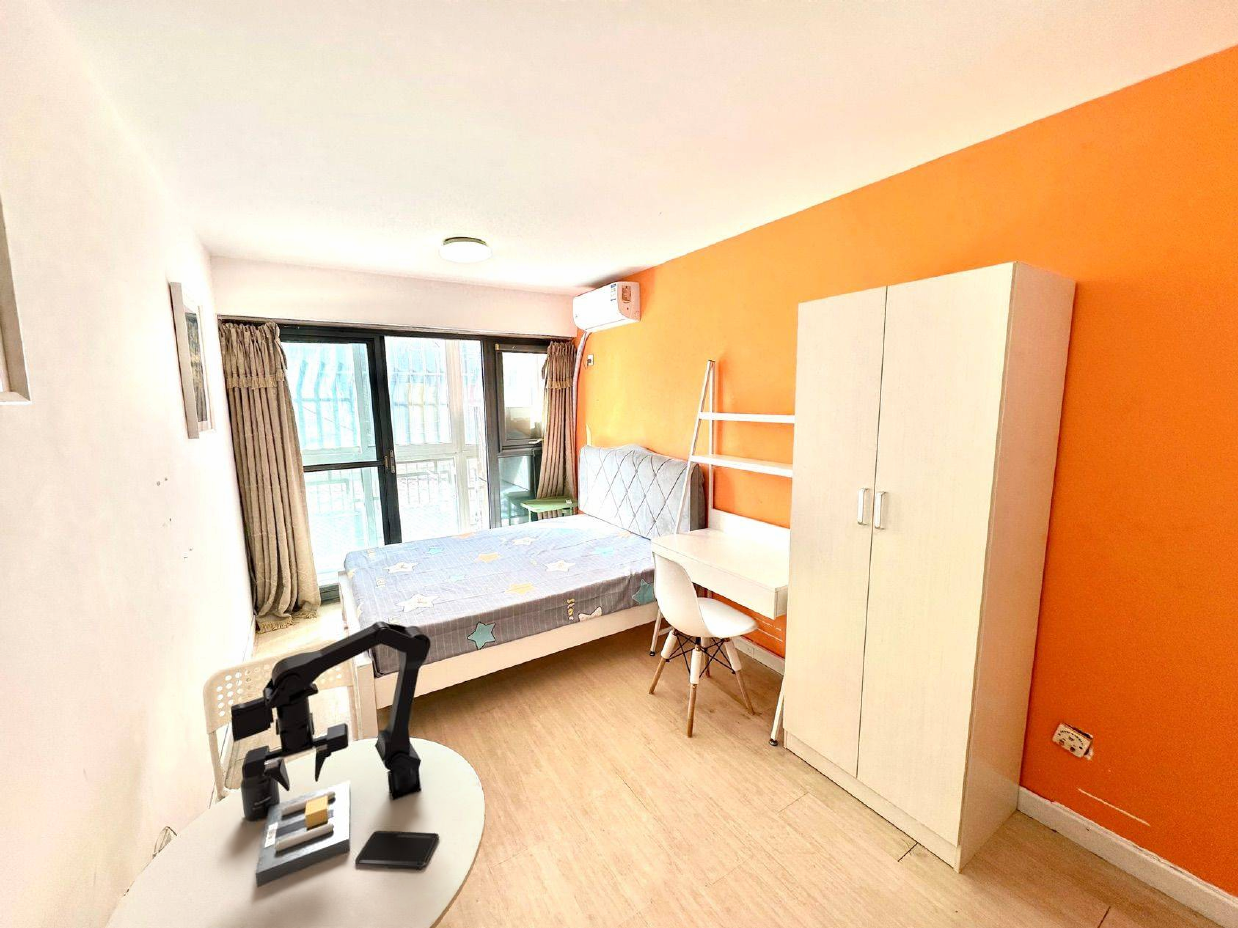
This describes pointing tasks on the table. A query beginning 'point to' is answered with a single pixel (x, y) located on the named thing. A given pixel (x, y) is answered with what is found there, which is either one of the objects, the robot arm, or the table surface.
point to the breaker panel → (294, 823)
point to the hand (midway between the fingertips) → (302, 784)
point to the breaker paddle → (317, 811)
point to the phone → (397, 850)
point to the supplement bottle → (259, 796)
